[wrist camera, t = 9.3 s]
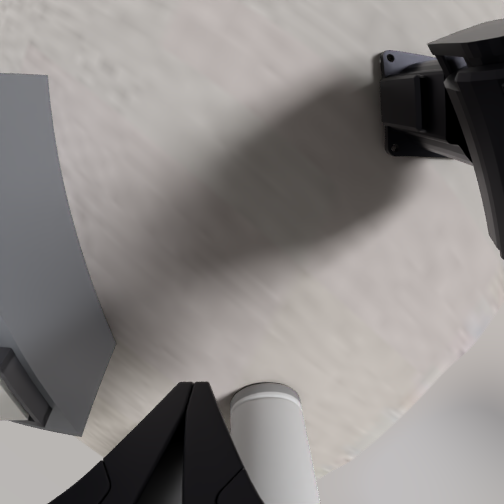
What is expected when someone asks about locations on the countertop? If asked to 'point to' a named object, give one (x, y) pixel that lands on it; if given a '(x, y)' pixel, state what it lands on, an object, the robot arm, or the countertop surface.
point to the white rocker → (10, 405)
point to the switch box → (43, 272)
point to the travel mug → (274, 443)
